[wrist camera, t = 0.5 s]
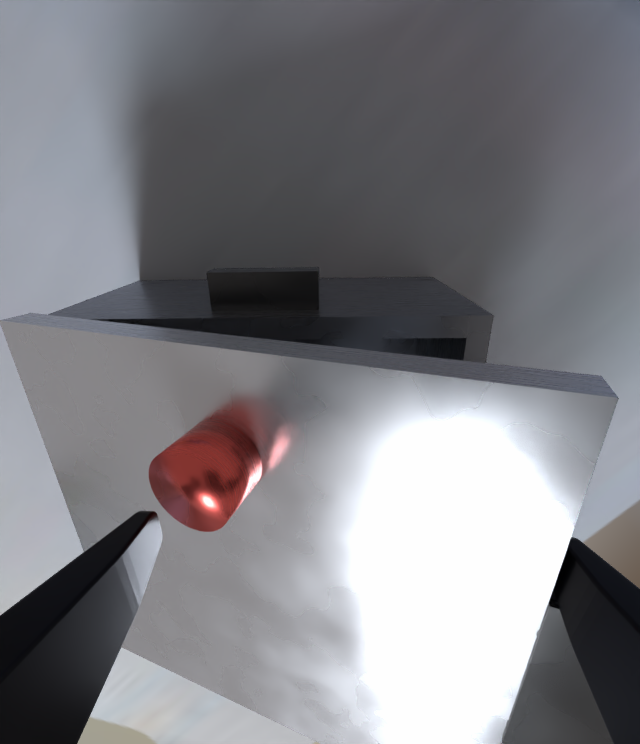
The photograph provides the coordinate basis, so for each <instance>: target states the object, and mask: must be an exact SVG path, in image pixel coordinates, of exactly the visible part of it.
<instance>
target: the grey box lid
mask: <svg viewBox="0 0 640 744" xmlns="http://www.w3.org/2000/svg"><path fill="white" fill-rule="evenodd" d="M0 324H1V327H2V329H3V332H4V335H5V338H6V340H7V343H8V346H9V349H10V351H11V354H12V357H13V359H14V362H15V365H16V368H17V370H18V373H19V376H20V379H21V381H22V384H23V387H24V389H25V392H26V395H27V398H28V400H29V403H30V406H31V409H32V411H33V414H34V417H35V419H36V422H37V425H38V428H39V430H40V433H41V436H42V438H43V441H44V444H45V447H46V449H47V452H48V455H49V458H50V460H51V463H52V466H53V468H54V471H55V474H56V477H57V479H58V482H59V485H60V488H61V490H62V493H63V496H64V498H65V501H66V504H67V507H68V509H69V512H70V515H71V518H72V520H73V523H74V526H75V528H76V531H77V534H78V537H79V539H80V542H81V545H82V548H83V550H84V552H85V551H86V550H87V549H89V548H90V547H91V546H93V545H94V544H95V543H97V542H98V541H99V540H101V539H102V538H103V537H105V536H106V535H107V534H109V533H110V532H111V531H112V530H114V529H115V528H116V527H118V526H119V525H120V524H122V523H123V522H124V521H126V520H127V519H128V518H130V517H131V516H132V515H134V514H135V513H136V512H138V511H154V512H156V513H157V515H158V518H159V522H160V526H161V530H162V536H163V537H162V543H161V546H160V549H159V552H158V555H157V558H156V561H155V564H154V567H153V569H152V572H151V575H150V578H149V581H148V584H147V587H146V590H145V593H144V595H143V598H142V601H141V604H140V606H139V609H138V611H137V613H136V616H135V618H134V620H133V622H132V625H131V627H130V629H129V631H128V633H127V635H126V638H125V640H124V642H123V644H122V646H121V647H122V648H124V649H126V650H129V651H131V652H133V653H135V654H137V655H139V656H141V657H143V658H145V659H147V660H149V661H151V662H153V663H155V664H157V665H159V666H162V667H164V668H166V669H168V670H170V671H172V672H174V673H176V674H178V675H180V676H182V677H184V678H186V679H188V680H190V681H192V682H195V683H197V684H199V685H201V686H203V687H205V688H207V689H209V690H211V691H213V692H215V693H217V694H219V695H221V696H223V697H225V698H228V699H230V700H232V701H234V702H236V703H238V704H240V705H242V706H244V707H246V708H248V709H250V710H252V711H254V712H256V713H258V714H260V715H263V716H265V717H267V718H269V719H271V720H273V721H275V722H277V723H279V724H281V725H283V726H285V727H287V728H289V729H291V730H293V731H296V732H298V733H300V734H302V735H304V736H306V737H308V738H310V739H312V740H314V741H316V742H318V743H320V744H500V743H501V740H502V743H503V744H613V741H612V739H611V737H610V734H609V732H608V730H607V727H606V725H605V723H604V720H603V718H602V716H601V713H600V711H599V709H598V706H597V704H596V702H595V699H594V697H593V694H592V692H591V690H590V687H589V685H588V683H587V680H586V678H585V676H584V673H583V671H582V669H581V666H580V664H579V662H578V659H577V657H576V655H575V652H574V650H573V647H572V645H571V642H570V640H569V637H568V634H567V631H566V628H565V625H564V622H563V619H562V616H561V613H560V610H559V606H558V603H557V600H556V597H555V594H554V591H553V588H554V586H555V583H556V580H557V577H558V574H559V571H560V568H561V565H562V562H563V559H564V556H565V553H566V550H567V548H568V545H569V542H570V539H571V536H572V533H573V530H574V527H575V524H576V521H577V518H578V515H579V512H580V510H581V507H582V504H583V501H584V498H585V495H586V492H587V489H588V486H589V483H590V480H591V477H592V475H593V472H594V469H595V466H596V463H597V460H598V457H599V454H600V451H601V448H602V445H603V442H604V439H605V437H606V434H607V431H608V428H609V425H610V422H611V419H612V416H613V413H614V410H615V407H616V404H617V401H618V399H619V398H618V397H617V395H616V394H615V393H614V391H613V390H612V389H611V388H610V386H609V385H608V384H607V382H606V381H605V380H604V378H603V377H602V376H597V375H588V374H579V373H570V372H561V371H552V370H543V369H534V368H525V367H516V366H507V365H498V364H489V363H480V362H471V361H462V360H452V359H443V358H434V357H425V356H416V355H407V354H398V353H389V352H380V351H371V350H362V349H353V348H344V347H335V346H326V345H317V344H307V343H298V342H289V341H280V340H271V339H262V338H253V337H244V336H235V335H226V334H217V333H208V332H199V331H190V330H181V329H171V328H162V327H153V326H144V325H135V324H126V323H117V322H108V321H99V320H90V319H81V318H72V317H63V316H54V315H45V314H36V313H29V314H25V315H21V316H16V317H12V318H8V319H4V320H0Z"/></svg>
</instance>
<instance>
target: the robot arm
mask: <svg viewBox="0 0 640 744" xmlns="http://www.w3.org/2000/svg"><path fill="white" fill-rule="evenodd" d="M162 537H163V536H162V530H161V526H160V522H159V518H158V515H157V513H156V512H154V511H138V512H136V513H135V514H134V515H132V516H131V517H130V518H128V519H127V520H126V521H124V522H123V523H122V524H120V525H119V526H118V527H116V528H115V529H114V530H112V531H111V532H110V533H109V534H107V535H106V536H105V537H103V538H102V539H101V540H99V541H98V542H97V543H95V544H94V545H93V546H91V547H90V548H89V549H87V550H86V551H85V552H83V553H82V554H81V555H80V556H78V557H77V558H76V559H74V560H73V561H72V562H70V563H69V564H68V565H66V566H65V567H64V568H62V569H61V570H60V571H58V572H57V573H56V574H54V575H53V576H52V577H50V578H49V579H48V580H47V581H45V582H44V583H43V584H41V585H40V586H39V587H37V588H36V589H35V590H33V591H32V592H31V593H29V594H28V595H27V596H25V597H24V598H23V599H21V600H20V601H19V602H17V603H16V604H15V605H14V606H12V607H11V608H10V609H8V610H7V611H6V612H4V613H3V614H2V615H0V744H77V743H78V740H79V738H80V736H81V734H82V732H83V729H84V727H85V725H86V723H87V721H88V719H89V717H90V714H91V712H92V710H93V708H94V706H95V703H96V701H97V699H98V697H99V695H100V692H101V690H102V688H103V686H104V684H105V681H106V679H107V677H108V675H109V673H110V671H111V668H112V666H113V664H114V662H115V660H116V657H117V655H118V653H119V651H120V649H121V646H122V644H123V642H124V640H125V638H126V635H127V633H128V631H129V629H130V627H131V625H132V622H133V620H134V618H135V616H136V613H137V611H138V609H139V606H140V604H141V601H142V598H143V595H144V593H145V590H146V587H147V584H148V581H149V578H150V575H151V572H152V569H153V567H154V564H155V561H156V558H157V555H158V552H159V549H160V546H161V543H162ZM553 591H554V594H555V597H556V600H557V603H558V606H559V610H560V613H561V616H562V619H563V622H564V625H565V628H566V631H567V634H568V637H569V640H570V642H571V645H572V647H573V650H574V652H575V655H576V657H577V659H578V662H579V664H580V666H581V669H582V671H583V673H584V676H585V678H586V680H587V683H588V685H589V687H590V690H591V692H592V694H593V697H594V699H595V702H596V704H597V706H598V709H599V711H600V713H601V716H602V718H603V720H604V723H605V725H606V727H607V730H608V732H609V734H610V737H611V739H612V741H613V744H640V589H639V588H638V587H637V586H636V585H634V584H633V583H632V582H631V581H629V580H628V579H627V578H625V577H624V576H623V575H622V574H621V573H619V572H618V571H617V570H616V569H614V568H613V567H612V566H611V565H610V564H608V563H607V562H606V561H604V560H603V559H602V558H601V557H600V556H598V555H597V554H596V553H595V552H593V551H592V550H591V549H590V548H588V547H587V546H586V545H585V544H584V543H582V542H581V541H580V540H578V539H576V538H573V537H571V539H570V542H569V545H568V548H567V550H566V553H565V556H564V559H563V562H562V565H561V568H560V571H559V574H558V577H557V580H556V583H555V586H554V588H553Z"/></svg>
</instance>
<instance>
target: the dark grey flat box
mask: <svg viewBox="0 0 640 744" xmlns="http://www.w3.org/2000/svg"><path fill="white" fill-rule="evenodd" d="M48 315H54V316H63V317H72V318H81V319H90V320H99V321H108V322H117V323H126V324H135V325H144V326H153V327H162V328H171V329H181V330H190V331H199V332H208V333H217V334H226V335H235V336H244V337H253V338H262V339H271V340H280V341H289V342H298V343H307V344H317V345H326V346H335V347H344V348H353V349H362V350H371V351H380V352H389V353H398V354H407V355H416V356H425V357H434V358H443V359H452V360H462V361H471V362H480V363H485V362H486V356H487V351H488V345H489V339H490V334H491V328H492V322H493V316H494V315H492V314H491V313H489V312H487V311H486V310H484V309H483V308H481V307H479V306H478V305H476V304H475V303H473V302H471V301H470V300H468V299H467V298H465V297H463V296H462V295H460V294H459V293H457V292H456V291H454V290H452V289H451V288H449V287H448V286H446V285H444V284H443V283H441V282H440V281H438V280H436V279H435V278H433V277H407V278H321V279H319V267H306V268H225V269H213V270H211V271H209V272H207V280H150V281H137V282H134V283H132V284H129V285H126V286H123V287H121V288H118V289H115V290H113V291H110V292H107V293H105V294H102V295H99V296H97V297H94V298H91V299H88V300H86V301H83V302H80V303H78V304H75V305H72V306H70V307H67V308H64V309H62V310H59V311H56V312H54V313H51V314H48Z"/></svg>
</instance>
